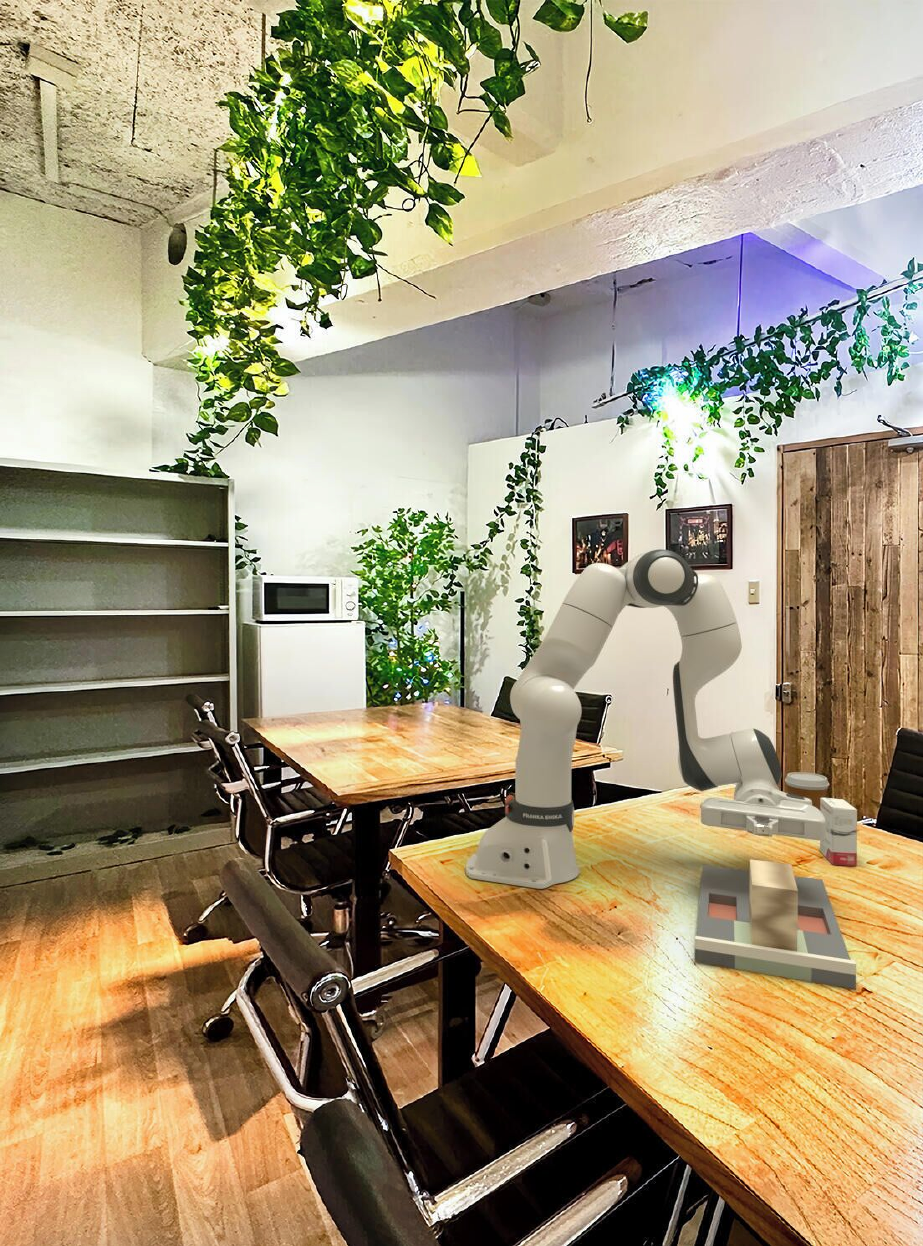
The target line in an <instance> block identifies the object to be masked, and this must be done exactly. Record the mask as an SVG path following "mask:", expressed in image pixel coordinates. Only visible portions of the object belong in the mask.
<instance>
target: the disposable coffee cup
mask: <svg viewBox="0 0 923 1246" xmlns="http://www.w3.org/2000/svg"><path fill="white" fill-rule="evenodd" d="M784 781H785V783H786V786H787V794H792V795H796V796H801V797H804V798H808V799H810V800H811V801H812V806H814V807H816V808H817V809H818V810H819V811H820V798H827V791H828V788H829V786H830V782H829V781H828V778H827V777H826V776H825V775H821V774H818V773H814V772H813V773H812V772H801V771H800V772H797V771H796V772H789V773H787V775H786V777H785V779H784Z"/></svg>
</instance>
